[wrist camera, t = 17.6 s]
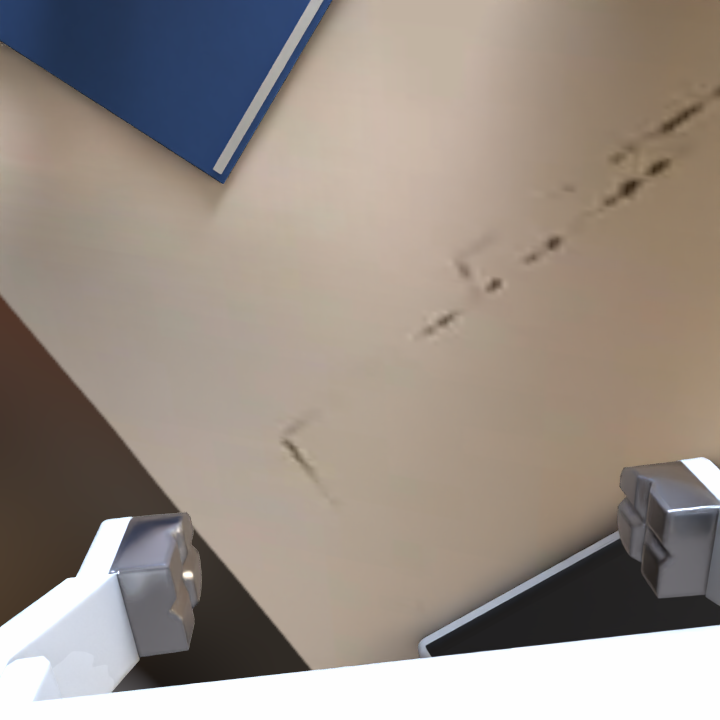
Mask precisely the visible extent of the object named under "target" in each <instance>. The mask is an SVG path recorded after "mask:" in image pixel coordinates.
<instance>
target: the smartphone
mask: <svg viewBox="0 0 720 720" xmlns="http://www.w3.org/2000/svg"><path fill="white" fill-rule="evenodd" d="M641 565H642V562H640V561H638V560H636V559H634V558H632V557H630V556H629V554H628V553H627V551H626V550H625V548H624V546H623V544H622V541H621V539H620V536H619V531H616V532H615V533H613V534H611V535H609V536H607V537H606V538H604V539H602V540H600V541H598V542H596V543H595V544H593V545H591V546H589V547H587V548H586V549H584V550H582V551H580V552H578V553H577V554H575V555H573V556H571V557H569V558H568V559H566V560H564V561H562V562H560V563H559V564H557V565H555V566H553V567H551V568H550V569H548V570H546V571H544V572H542V573H541V574H539V575H537V576H535V577H533V578H532V579H530V580H528V581H526V582H524V583H523V584H521V585H519V586H517V587H515V588H514V589H512V590H510V591H508V592H506V593H505V594H503V595H501V596H499V597H497V598H496V599H494V600H492V601H490V602H488V603H486V604H485V605H483V606H481V607H479V608H477V609H476V610H474V611H472V612H470V613H468V614H467V615H465V616H463V617H461V618H459V619H458V620H456V621H454V622H452V623H450V624H449V625H447V626H445V627H443V628H441V629H440V630H438V631H436V632H434V633H432V634H431V635H429V636H427V637H425V638H424V639H422V640H421V641H420V642H419V645H418V652H419V657H420V658H429V657H438V656H447V655H456V654H465V653H474V652H483V651H492V650H501V649H510V648H519V647H528V646H537V645H545V644H554V643H563V642H572V641H581V640H590V639H599V638H608V637H617V636H626V635H635V634H644V633H653V632H661V631H670V630H679V629H688V628H697V627H706V626H715V625H720V606H719V605H717V604H716V603H714V602H713V601H711V600H710V599H708V598H707V597H705V596H706V595H694V596H682V597H670V598H657V596H656V595H655V593H654V592H653V590H652V589H651V587H650V586H649V584H648V583H647V581H646V580H645V578H644V577H643V575H642V574H641Z"/></svg>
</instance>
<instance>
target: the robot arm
mask: <svg viewBox="0 0 720 720" xmlns="http://www.w3.org/2000/svg"><path fill="white" fill-rule="evenodd" d="M619 487H620V488H621V489H622V491H623V492H624V494H625V495H626V497H625V498H624V500H623V501H622V502H621V503H620V504H619V506H618V511H617V525H618V531H619V536H620V539H621V541H622V544H623V546H624V548H625V550H626V551H627V553H628V554H629V556H630V557H632V558H634V559H636V560H638V561H640V562H642V565H641V574H642V575H643V577H644V578H645V580H646V581H647V583H648V584H649V586H650V587H651V589H652V590H653V592H654V593H655V595H656V596H657V598H670V597H682V596H694V595H706V596H705V597H707V598H708V599H710V600H711V601H713V602H714V603H716V604H717V605H719V606H720V470H719V469H718V468H717V467H716V466H715V465H714V464H713V463H712V462H711V461H710V460H709V459H706V458H703V457H700V458H693V459H686V460H679V461H675V462H667V463H658V464H650V465H642V466H633V467H625V468H623V471H622V473H621V477H620V486H619ZM193 532H194V530H193V526H192V522H191V517H190V516H189V514H188V513H187V512H184V513H172V514H160V515H148V516H136V517H125V518H116V519H107V520H105V521H104V522H102V524H101V525H100V527H99V530H98V532H97V534H96V536H95V538H94V540H93V542H92V544H91V547H90V549H89V551H88V553H87V555H86V557H85V559H84V561H83V563H82V566H81V568H80V570H79V572H78V574H77V576H76V577H75V578H67V579H66V580H65V581H63V582H62V583H61V584H59V585H58V586H57V587H55V588H54V589H52V590H51V591H50V592H48V593H47V594H46V595H44V596H43V597H41V598H40V599H39V600H37V601H36V602H34V603H33V604H32V605H30V606H29V607H27V608H26V609H25V610H23V611H22V612H21V613H19V614H18V615H16V616H15V617H14V618H12V619H11V620H10V621H8V622H7V623H6V624H4V625H3V626H2V627H0V720H720V625H715V626H706V627H697V628H688V629H679V630H670V631H661V632H653V633H644V634H635V635H626V636H617V637H608V638H599V639H590V640H581V641H572V642H563V643H554V644H545V645H537V646H528V647H519V648H510V649H501V650H492V651H483V652H474V653H465V654H456V655H447V656H438V657H429V658H420V659H411V660H402V661H393V662H384V663H375V664H366V665H357V666H349V667H340V668H331V669H322V670H313V671H304V672H295V673H286V674H277V675H269V676H259V677H250V678H241V679H233V680H223V681H214V682H205V683H196V684H188V685H178V686H170V687H161V688H151V689H142V690H134V691H125V692H116V693H111V692H112V691H113V689H114V688H115V687H116V686H117V685H118V684H119V683H120V682H121V680H122V679H123V678H124V677H125V676H126V675H127V673H128V672H129V671H130V670H131V669H132V668H133V667H134V665H135V664H136V663H137V662H138V661H139V657H143V656H150V655H157V654H164V653H172V652H179V651H186V650H189V645H190V640H191V636H192V632H193V627H194V623H195V620H194V616H193V611H192V609H193V608H194V607H195V606H196V605H197V604H198V603H199V598H200V593H201V576H202V574H201V564H200V559H199V553H198V550H196V549H195V548H194V547H193V546H191V541H192V537H193Z"/></svg>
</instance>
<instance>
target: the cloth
mask: <svg viewBox="0 0 720 720" xmlns="http://www.w3.org/2000/svg"><path fill="white" fill-rule="evenodd" d="M331 2H332V0H0V41H1V42H3V43H5V44H6V45H8V46H9V47H11V48H12V49H14V50H15V51H17V52H18V53H20V54H22V55H23V56H25V57H26V58H28V59H29V60H31V61H32V62H34V63H36V64H37V65H39V66H40V67H42V68H43V69H45V70H46V71H48V72H50V73H51V74H53V75H54V76H56V77H57V78H59V79H60V80H62V81H64V82H65V83H67V84H68V85H70V86H71V87H73V88H74V89H76V90H78V91H79V92H81V93H82V94H84V95H85V96H87V97H88V98H90V99H92V100H93V101H95V102H96V103H98V104H99V105H101V106H102V107H104V108H106V109H107V110H109V111H110V112H112V113H113V114H115V115H116V116H118V117H120V118H121V119H123V120H124V121H126V122H127V123H129V124H130V125H132V126H133V127H135V128H137V129H138V130H140V131H141V132H143V133H144V134H146V135H147V136H149V137H151V138H152V139H154V140H155V141H157V142H158V143H160V144H161V145H163V146H165V147H166V148H168V149H169V150H171V151H172V152H174V153H175V154H177V155H179V156H180V157H182V158H183V159H185V160H186V161H188V162H189V163H191V164H193V165H194V166H196V167H197V168H199V169H200V170H202V171H203V172H205V173H207V174H208V175H210V176H211V177H213V178H214V179H216V180H217V181H219V182H221V183H222V184H224V183H225V181H226V179H227V178H228V176H229V174H230V173H231V171H232V169H233V168H234V166H235V164H236V162H237V161H238V159H239V157H240V156H241V154H242V152H243V151H244V149H245V147H246V146H247V144H248V142H249V140H250V139H251V137H252V135H253V134H254V132H255V130H256V129H257V127H258V125H259V124H260V122H261V120H262V118H263V117H264V115H265V113H266V112H267V110H268V108H269V107H270V105H271V103H272V102H273V100H274V98H275V96H276V95H277V93H278V91H279V90H280V88H281V86H282V85H283V83H284V81H285V80H286V78H287V76H288V74H289V73H290V71H291V69H292V68H293V66H294V64H295V63H296V61H297V59H298V58H299V56H300V54H301V52H302V51H303V49H304V47H305V46H306V44H307V42H308V41H309V39H310V37H311V36H312V34H313V32H314V30H315V29H316V27H317V25H318V24H319V22H320V20H321V19H322V17H323V15H324V14H325V12H326V10H327V8H328V7H329V5H330V3H331Z"/></svg>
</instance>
